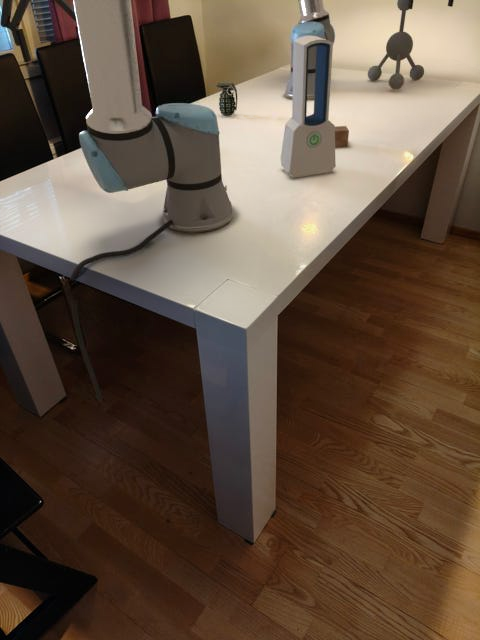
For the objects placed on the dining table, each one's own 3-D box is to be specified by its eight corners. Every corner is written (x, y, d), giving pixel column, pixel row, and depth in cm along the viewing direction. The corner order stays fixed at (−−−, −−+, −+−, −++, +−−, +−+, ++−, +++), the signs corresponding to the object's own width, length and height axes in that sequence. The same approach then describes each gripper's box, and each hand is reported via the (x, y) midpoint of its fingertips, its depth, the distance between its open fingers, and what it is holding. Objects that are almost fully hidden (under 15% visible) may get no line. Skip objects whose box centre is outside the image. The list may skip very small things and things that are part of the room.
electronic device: (289, 178, 122) (291, 42, 103) (279, 168, 128) (280, 37, 109) (335, 171, 124) (345, 37, 106) (323, 161, 130) (331, 32, 111)
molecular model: (441, 85, 188) (459, -9, 169) (393, 93, 182) (406, -3, 164) (404, 74, 205) (416, -12, 187) (359, 81, 200) (367, -7, 181)
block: (344, 142, 142) (345, 125, 139) (347, 147, 139) (349, 130, 136) (330, 143, 142) (331, 126, 139) (332, 147, 139) (334, 131, 136)
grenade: (217, 117, 168) (214, 86, 162) (221, 112, 172) (219, 82, 166) (235, 117, 166) (233, 86, 160) (239, 113, 171) (238, 82, 165)
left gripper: (91, -57, 105) (111, 53, 118) (-24, -50, 105) (9, 59, 118) (83, -57, 99) (106, 59, 112) (-39, -50, 99) (-2, 65, 112)
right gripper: (477, -75, 156) (462, 4, 169) (399, -69, 157) (390, 8, 170) (487, -75, 151) (470, 6, 164) (405, -70, 151) (396, 11, 164)
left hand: (56, 59), depth 115 cm, fingers open, 13 cm apart
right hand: (429, 7), depth 167 cm, fingers open, 13 cm apart
